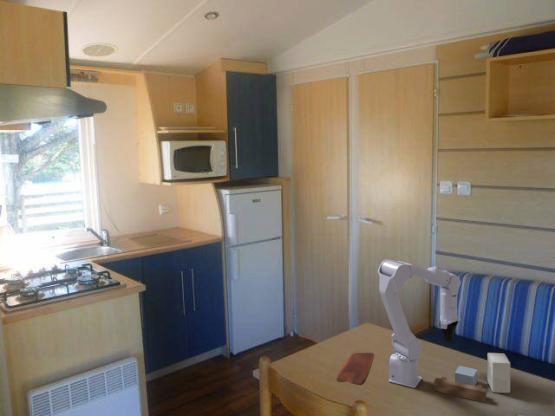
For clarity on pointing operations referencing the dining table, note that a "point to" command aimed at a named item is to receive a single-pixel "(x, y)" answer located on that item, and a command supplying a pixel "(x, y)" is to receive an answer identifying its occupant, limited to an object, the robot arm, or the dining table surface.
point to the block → (466, 375)
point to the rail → (460, 389)
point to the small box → (498, 372)
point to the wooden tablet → (356, 368)
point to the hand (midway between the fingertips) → (448, 341)
